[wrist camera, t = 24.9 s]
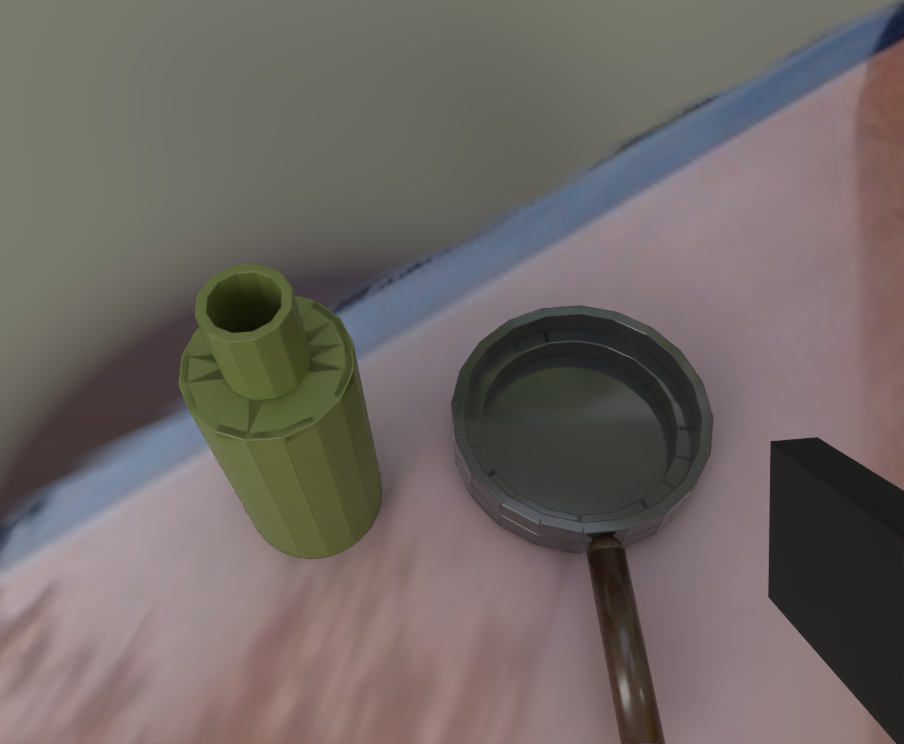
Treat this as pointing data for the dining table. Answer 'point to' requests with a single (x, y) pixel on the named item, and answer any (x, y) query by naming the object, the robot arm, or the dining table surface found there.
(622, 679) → the pan handle
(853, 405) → the dining table surface
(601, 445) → the pan
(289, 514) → the oil bottle
